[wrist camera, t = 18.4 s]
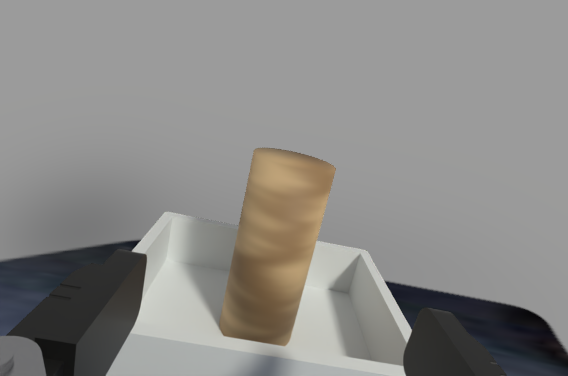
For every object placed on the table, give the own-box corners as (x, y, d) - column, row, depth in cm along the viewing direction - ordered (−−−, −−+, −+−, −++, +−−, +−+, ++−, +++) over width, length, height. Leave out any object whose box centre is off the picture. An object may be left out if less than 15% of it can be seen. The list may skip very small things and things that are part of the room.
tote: (64, 410, 17) (70, 323, 16) (158, 264, 31) (165, 211, 30) (410, 459, 19) (441, 383, 17) (351, 299, 33) (366, 250, 31)
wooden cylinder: (213, 346, 22) (251, 158, 19) (224, 299, 27) (255, 143, 24) (293, 359, 22) (343, 177, 19) (289, 310, 27) (329, 159, 24)
